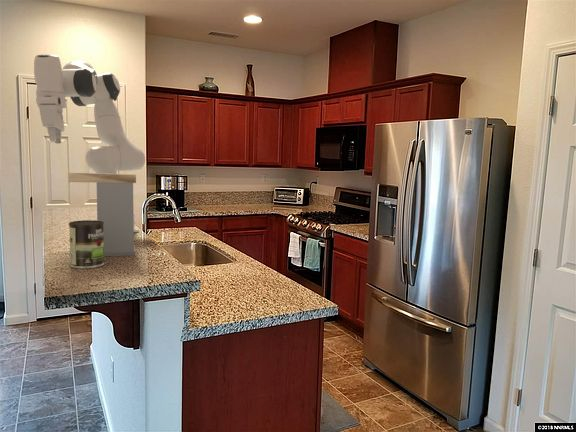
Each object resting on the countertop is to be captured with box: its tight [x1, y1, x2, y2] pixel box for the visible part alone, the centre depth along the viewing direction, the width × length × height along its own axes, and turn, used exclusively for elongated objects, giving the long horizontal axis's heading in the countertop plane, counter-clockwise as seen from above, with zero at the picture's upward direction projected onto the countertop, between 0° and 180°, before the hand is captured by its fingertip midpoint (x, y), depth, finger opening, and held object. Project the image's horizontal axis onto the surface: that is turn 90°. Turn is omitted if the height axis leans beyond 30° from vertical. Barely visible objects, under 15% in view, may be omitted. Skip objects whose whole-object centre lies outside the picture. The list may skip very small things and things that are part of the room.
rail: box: [68, 172, 137, 184], centre depth 159 cm, size 4×22×3 cm, turn 110°
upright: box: [96, 182, 136, 257], centre depth 162 cm, size 9×13×26 cm
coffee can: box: [68, 219, 105, 270], centre depth 145 cm, size 10×10×14 cm
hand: (55, 142), depth 156 cm, fingers open, 8 cm apart
